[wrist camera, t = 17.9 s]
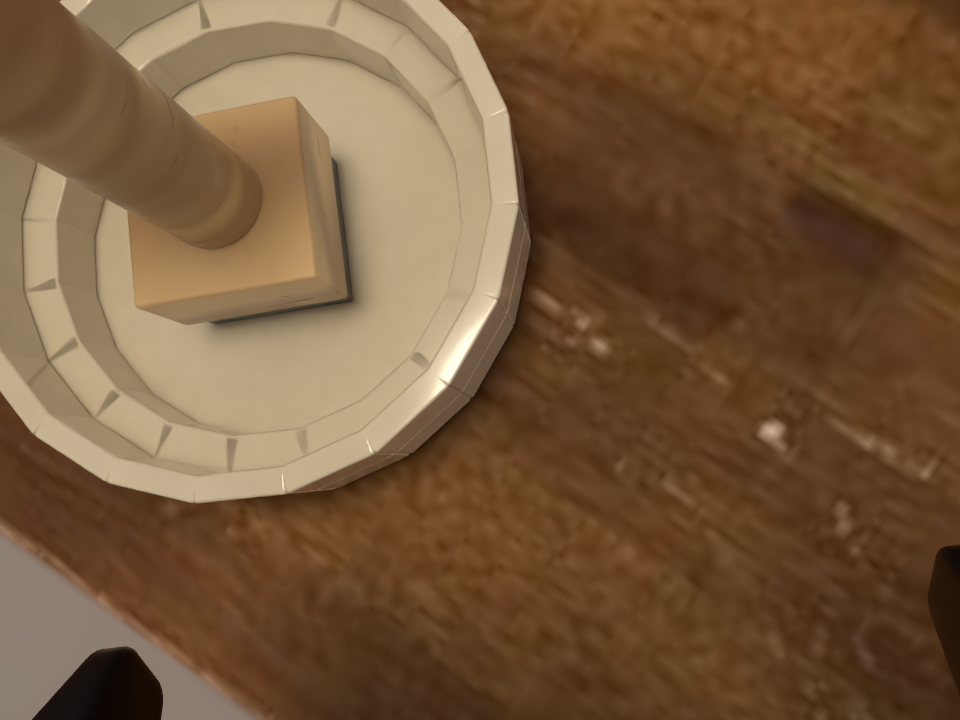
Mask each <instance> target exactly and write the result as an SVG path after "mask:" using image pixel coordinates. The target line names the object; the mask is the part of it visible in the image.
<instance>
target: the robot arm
mask: <svg viewBox="0 0 960 720" xmlns="http://www.w3.org/2000/svg"><path fill="white" fill-rule="evenodd" d="M928 604H929V610H930V614H931V617H932V620H933V623H934V626H935V629H936V631H937V634H938V637H939V640H940V643H941V645H942V648H943V651H944V654H945V657H946V659H947V662H948V665H949V668H950V671H951V673H952V676H953V679H954V682H955V685H956V687H957V690H958V693H959V696H960V545H955V546H946V547H942V548H941V549H940V550H939V551H938V552H937V555H936V558H935V563H934V568H933V572H932V577H931V582H930V587H929V592H928ZM162 707H163V694H162V688H161V686H160V683H159V681H158V680H157V678H156V677H155V676H154V675H153V673H152V672H151V671H150V669H149V668H148V667H147V665H146V664H145V663H144V662H143V660H142V659H141V658H140V656H139V655H138V654H137V652H136V651H135V650H134V649H132V648H130V647H116V648H109V649H101V650H98V651H96V652H94V653H93V654H91V655H90V656H89V657H88V658H87V659H86V660H85V661H84V662H83V663H82V664H81V665H80V667H79V668H78V669H77V670H76V671H75V672H74V673H73V674H72V676H71V677H70V678H69V679H68V680H67V681H66V682H65V683H64V685H63V686H62V687H61V688H60V689H59V690H58V691H57V692H56V693H55V694H54V696H53V697H52V698H51V699H50V700H49V701H48V702H47V704H46V705H45V706H44V707H43V708H42V709H41V710H40V711H39V712H38V713H37V715H36V716H35V717H34V718H33V719H32V720H161V714H162Z"/></svg>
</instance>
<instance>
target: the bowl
mask: <svg viewBox="0 0 960 720" xmlns="http://www.w3.org/2000/svg"><path fill="white" fill-rule="evenodd" d="M60 3H61V4H62V5H63V6H65V7H66V8H67V9H68V10H69V11H70V12H72V13H73V14H74V15H75V16H76V17H77V18H79V19H80V20H81V21H82V22H83V23H84V24H86V25H87V26H88V27H89V28H90V29H91V30H93V31H94V32H95V33H96V34H97V35H98V36H100V37H101V38H102V39H103V40H104V41H105V42H106V43H108V44H109V45H110V46H111V47H112V48H113V49H115V50H116V51H117V52H118V53H119V54H120V55H122V56H123V57H124V58H125V59H126V60H127V61H129V62H130V63H131V64H132V65H133V66H134V67H136V68H137V69H138V70H139V71H140V72H141V73H143V74H144V75H145V76H146V77H147V78H148V79H150V80H151V81H152V82H153V83H154V84H155V85H157V86H158V87H159V88H160V89H161V90H162V91H164V92H165V93H166V94H167V95H168V96H169V97H171V98H172V99H173V100H174V101H175V102H176V103H178V104H179V105H180V106H181V107H182V108H183V109H185V110H186V111H187V112H188V113H189V114H190V115H192V116H196V115H201V114H206V113H211V112H216V111H221V110H226V109H231V108H236V107H241V106H246V105H251V104H256V103H261V102H266V101H271V100H276V99H281V98H286V97H291V96H294V97H296V98H297V99H298V100H299V101H300V102H301V104H302V105H303V106H304V107H305V109H306V110H307V111H308V112H309V113H310V115H311V116H312V117H313V118H314V120H315V121H316V122H317V123H318V124H319V126H320V127H321V128H322V129H323V130H324V132H325V133H326V134H327V135H328V137H329V144H330V153H331V156H332V157H333V159H334V160H335V161H336V162H337V168H338V177H339V185H340V193H341V202H342V210H343V219H344V227H345V235H346V244H347V252H348V261H349V269H350V277H351V286H352V294H353V301H351V302H346V303H340V304H334V305H328V306H322V307H316V308H310V309H304V310H298V311H292V312H286V313H280V314H274V315H268V316H263V317H257V318H251V319H245V320H239V321H233V322H227V323H221V324H213V323H210V322H204V323H198V324H192V325H185V324H182V323H179V322H176V321H173V320H170V319H167V318H164V317H161V316H158V315H155V314H152V313H149V312H146V311H143V310H140V309H137V308H136V306H135V300H134V287H133V275H132V263H131V251H130V238H129V226H128V214H127V210H125V209H123V208H121V207H120V206H118V205H116V204H114V203H112V202H110V201H108V200H107V199H105V198H103V197H101V196H99V195H97V194H95V193H94V192H92V191H90V190H88V189H86V188H84V187H83V186H81V185H79V184H77V183H75V182H73V181H71V180H70V179H68V178H66V177H64V176H62V175H60V174H58V173H57V172H55V171H53V170H51V169H49V168H47V167H45V166H44V165H42V164H40V163H38V162H36V161H34V160H32V159H31V158H29V157H27V156H25V155H23V154H21V153H19V152H18V151H16V150H14V149H12V148H10V147H8V146H6V145H5V144H3V143H1V142H0V392H1V393H2V394H3V396H4V397H5V398H6V400H7V401H8V402H9V403H10V405H11V406H12V407H13V409H14V410H15V411H16V413H17V414H18V415H19V417H20V418H21V419H22V421H23V422H24V423H25V424H26V426H27V427H28V428H29V430H30V431H31V432H32V433H33V434H35V436H36V437H37V438H39V439H40V440H42V441H43V442H45V443H47V444H48V445H50V446H51V447H53V448H54V449H56V450H57V451H59V452H60V453H62V454H63V455H65V456H66V457H68V458H69V459H71V460H73V461H74V462H76V463H77V464H79V465H80V466H82V467H83V468H85V469H86V470H88V471H89V472H91V473H92V474H94V475H96V476H97V477H99V478H100V479H102V480H103V481H106V482H108V483H109V484H113V485H117V486H121V487H125V488H129V489H134V490H138V491H142V492H146V493H151V494H155V495H159V496H163V497H167V498H172V499H176V500H180V501H184V502H188V503H198V504H199V503H209V502H219V501H229V500H239V499H249V498H259V497H268V496H278V495H287V494H297V493H307V492H316V491H326V490H334V489H335V488H339V487H342V486H344V485H346V484H348V483H350V482H353V481H355V480H357V479H359V478H361V477H363V476H366V475H368V474H370V473H372V472H374V471H377V470H379V469H381V468H383V467H385V466H388V465H390V464H392V463H394V462H396V461H399V460H401V459H403V458H405V457H407V456H408V455H409V454H411V453H413V452H414V451H415V450H416V449H417V448H419V447H420V446H421V445H422V444H423V443H424V442H425V441H426V440H427V439H428V438H429V437H431V436H432V435H433V434H434V433H435V432H436V431H437V430H438V429H439V428H440V427H441V426H443V425H444V424H445V423H446V422H447V421H448V420H449V419H450V418H451V417H452V416H453V415H455V414H456V413H457V412H458V411H459V410H460V409H461V408H462V407H463V406H464V405H465V404H467V403H468V402H469V401H470V399H471V397H473V396H474V395H475V393H476V391H477V390H478V388H479V386H480V384H481V383H482V381H483V379H484V377H485V376H486V374H487V372H488V370H489V369H490V367H491V365H492V363H493V362H494V360H495V358H496V356H497V355H498V353H499V351H500V349H501V348H502V346H503V344H504V342H505V341H506V339H507V337H508V335H509V334H510V332H511V330H512V328H513V324H514V323H515V320H516V315H517V310H518V305H519V300H520V296H521V291H522V286H523V281H524V277H525V272H526V267H527V262H528V257H529V253H530V248H531V245H530V243H531V237H530V229H529V220H528V211H527V203H526V194H525V185H524V176H523V168H522V163H521V159H520V155H519V151H518V147H517V144H516V140H515V136H514V132H513V128H512V124H511V120H510V116H509V113H508V109H507V107H506V105H505V103H504V100H503V98H502V96H501V94H500V92H499V90H498V88H497V86H496V84H495V82H494V80H493V78H492V75H491V73H490V71H489V69H488V67H487V65H486V63H485V61H484V59H483V57H482V55H481V53H480V50H479V48H478V46H477V44H476V42H475V40H474V38H473V36H472V34H471V33H470V32H469V30H468V28H467V27H466V26H465V25H464V24H463V23H462V22H461V21H460V20H459V19H458V18H457V17H456V16H455V15H454V14H453V13H452V12H451V11H450V10H449V9H448V8H447V7H446V6H445V5H444V4H443V3H442V2H441V1H440V0H61V1H60Z"/></svg>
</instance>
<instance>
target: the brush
mask: <svg viewBox="0 0 960 720" xmlns="http://www.w3.org/2000/svg"><path fill="white" fill-rule="evenodd" d="M0 142H1V143H3V144H5V145H6V146H8V147H10V148H12V149H14V150H16V151H18V152H19V153H21V154H23V155H25V156H27V157H29V158H31V159H32V160H34V161H36V162H38V163H40V164H42V165H44V166H45V167H47V168H49V169H51V170H53V171H55V172H57V173H58V174H60V175H62V176H64V177H66V178H68V179H70V180H71V181H73V182H75V183H77V184H79V185H81V186H83V187H84V188H86V189H88V190H90V191H92V192H94V193H95V194H97V195H99V196H101V197H103V198H105V199H107V200H108V201H110V202H112V203H114V204H116V205H118V206H120V207H121V208H123V209H125V210H127V214H128V226H129V238H130V251H131V263H132V275H133V287H134V300H135V306H136V308H137V309H140V310H143V311H146V312H149V313H152V314H155V315H158V316H161V317H164V318H167V319H170V320H173V321H176V322H179V323H182V324H185V325H192V324H198V323H204V322H210V323H213V324H221V323H227V322H233V321H239V320H245V319H251V318H257V317H263V316H268V315H274V314H280V313H286V312H292V311H298V310H304V309H310V308H316V307H322V306H328V305H334V304H340V303H346V302H351V301H353V294H352V286H351V277H350V269H349V261H348V252H347V244H346V235H345V227H344V219H343V210H342V202H341V193H340V185H339V177H338V168H337V162H336V161H335V160H334V159H333V157H332V156H331V153H330V144H329V137H328V135H327V134H326V133H325V132H324V130H323V129H322V128H321V127H320V126H319V124H318V123H317V122H316V121H315V120H314V118H313V117H312V116H311V115H310V113H309V112H308V111H307V110H306V109H305V107H304V106H303V105H302V104H301V102H300V101H299V100H298V99H297V98H296V97H294V96H291V97H286V98H281V99H276V100H271V101H266V102H261V103H256V104H251V105H246V106H241V107H236V108H231V109H226V110H221V111H216V112H211V113H206V114H201V115H196V116H192V115H190V114H189V113H188V112H187V111H186V110H185V109H183V108H182V107H181V106H180V105H179V104H178V103H176V102H175V101H174V100H173V99H172V98H171V97H169V96H168V95H167V94H166V93H165V92H164V91H162V90H161V89H160V88H159V87H158V86H157V85H155V84H154V83H153V82H152V81H151V80H150V79H148V78H147V77H146V76H145V75H144V74H143V73H141V72H140V71H139V70H138V69H137V68H136V67H134V66H133V65H132V64H131V63H130V62H129V61H127V60H126V59H125V58H124V57H123V56H122V55H120V54H119V53H118V52H117V51H116V50H115V49H113V48H112V47H111V46H110V45H109V44H108V43H106V42H105V41H104V40H103V39H102V38H101V37H100V36H98V35H97V34H96V33H95V32H94V31H93V30H91V29H90V28H89V27H88V26H87V25H86V24H84V23H83V22H82V21H81V20H80V19H79V18H77V17H76V16H75V15H74V14H73V13H72V12H70V11H69V10H68V9H67V8H66V7H65V6H63V5H62V4H61V3H60V2H59V1H58V0H0Z"/></svg>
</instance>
